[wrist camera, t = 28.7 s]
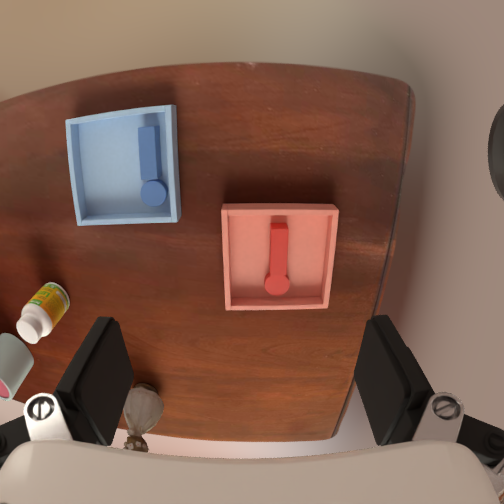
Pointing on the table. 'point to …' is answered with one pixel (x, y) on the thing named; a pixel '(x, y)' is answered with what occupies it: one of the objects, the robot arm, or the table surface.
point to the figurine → (141, 415)
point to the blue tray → (120, 166)
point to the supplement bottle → (42, 312)
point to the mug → (13, 365)
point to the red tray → (298, 260)
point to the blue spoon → (151, 166)
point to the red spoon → (277, 260)
